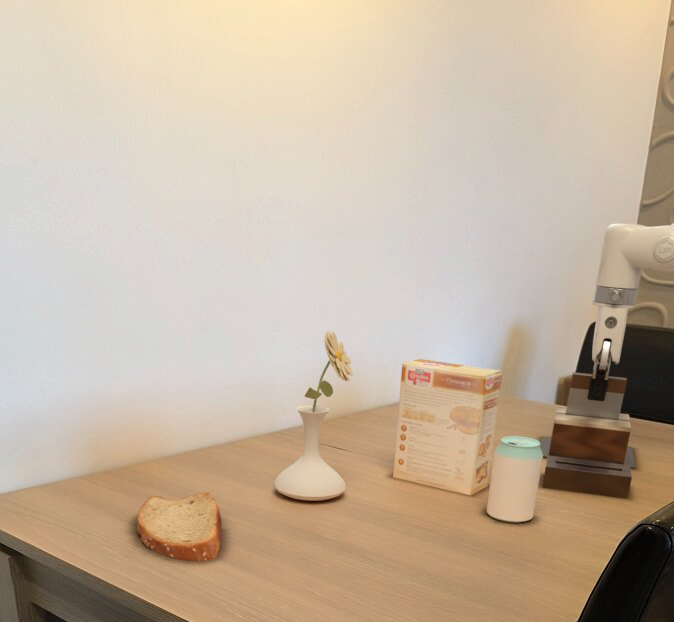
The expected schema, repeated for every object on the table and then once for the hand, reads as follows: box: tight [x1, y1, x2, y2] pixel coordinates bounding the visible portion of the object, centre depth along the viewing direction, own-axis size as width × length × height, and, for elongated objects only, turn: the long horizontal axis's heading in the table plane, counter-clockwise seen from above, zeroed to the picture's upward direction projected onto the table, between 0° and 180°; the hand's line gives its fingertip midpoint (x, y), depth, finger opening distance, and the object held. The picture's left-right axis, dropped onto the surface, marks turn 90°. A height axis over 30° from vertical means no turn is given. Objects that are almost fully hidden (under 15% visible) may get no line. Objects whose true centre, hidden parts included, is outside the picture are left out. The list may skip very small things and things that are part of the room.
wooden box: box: [540, 406, 636, 470], centre depth 162 cm, size 18×16×7 cm
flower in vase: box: [273, 330, 354, 502], centre depth 127 cm, size 13×11×25 cm
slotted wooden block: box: [541, 455, 633, 500], centre depth 142 cm, size 14×7×4 cm, turn 74°
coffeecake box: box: [392, 358, 503, 496], centre depth 137 cm, size 15×7×20 cm, turn 56°
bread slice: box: [136, 491, 222, 563], centre depth 114 cm, size 18×18×4 cm
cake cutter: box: [565, 371, 628, 420], centre depth 160 cm, size 10×2×12 cm, turn 74°
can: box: [486, 435, 544, 524], centre depth 124 cm, size 7×7×12 cm
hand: (595, 397), depth 159 cm, fingers closed on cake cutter, 2 cm apart
